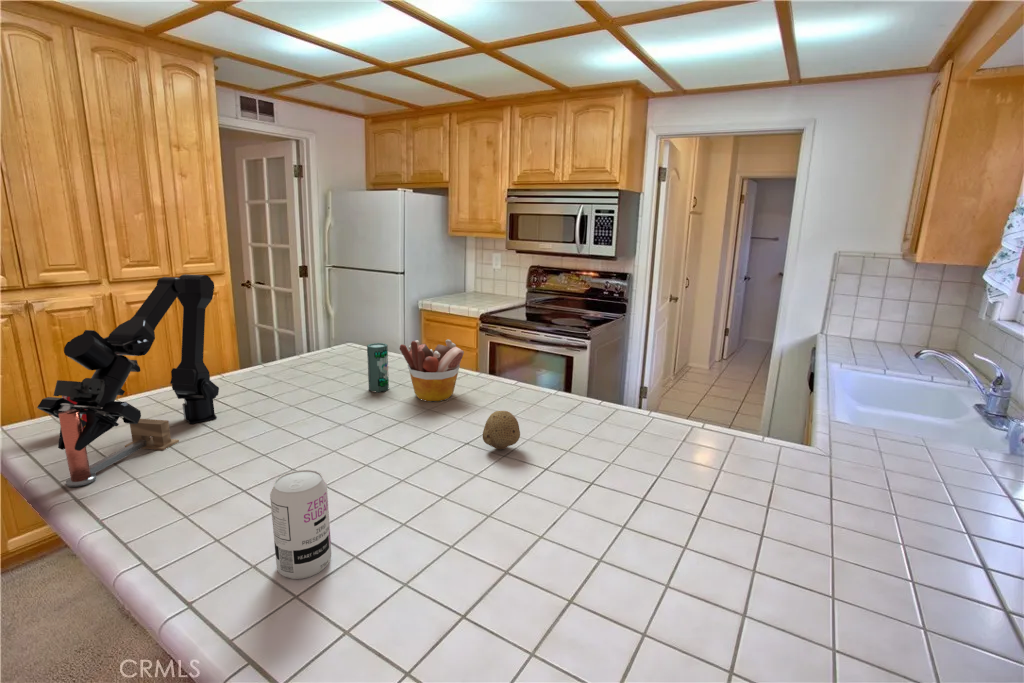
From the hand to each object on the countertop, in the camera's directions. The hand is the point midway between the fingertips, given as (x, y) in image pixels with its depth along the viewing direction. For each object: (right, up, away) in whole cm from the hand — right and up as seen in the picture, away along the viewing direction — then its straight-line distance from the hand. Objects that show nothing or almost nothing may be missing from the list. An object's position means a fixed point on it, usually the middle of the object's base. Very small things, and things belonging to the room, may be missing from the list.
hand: (68, 449), depth 102 cm
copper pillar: (+1, -6, +10) cm, 11 cm away
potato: (+87, -5, +24) cm, 90 cm away
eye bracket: (+2, -3, +21) cm, 22 cm away
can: (+45, +6, +66) cm, 80 cm away
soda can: (-20, -1, +28) cm, 34 cm away
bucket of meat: (+64, +4, +60) cm, 88 cm away
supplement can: (+56, -15, -20) cm, 61 cm away
